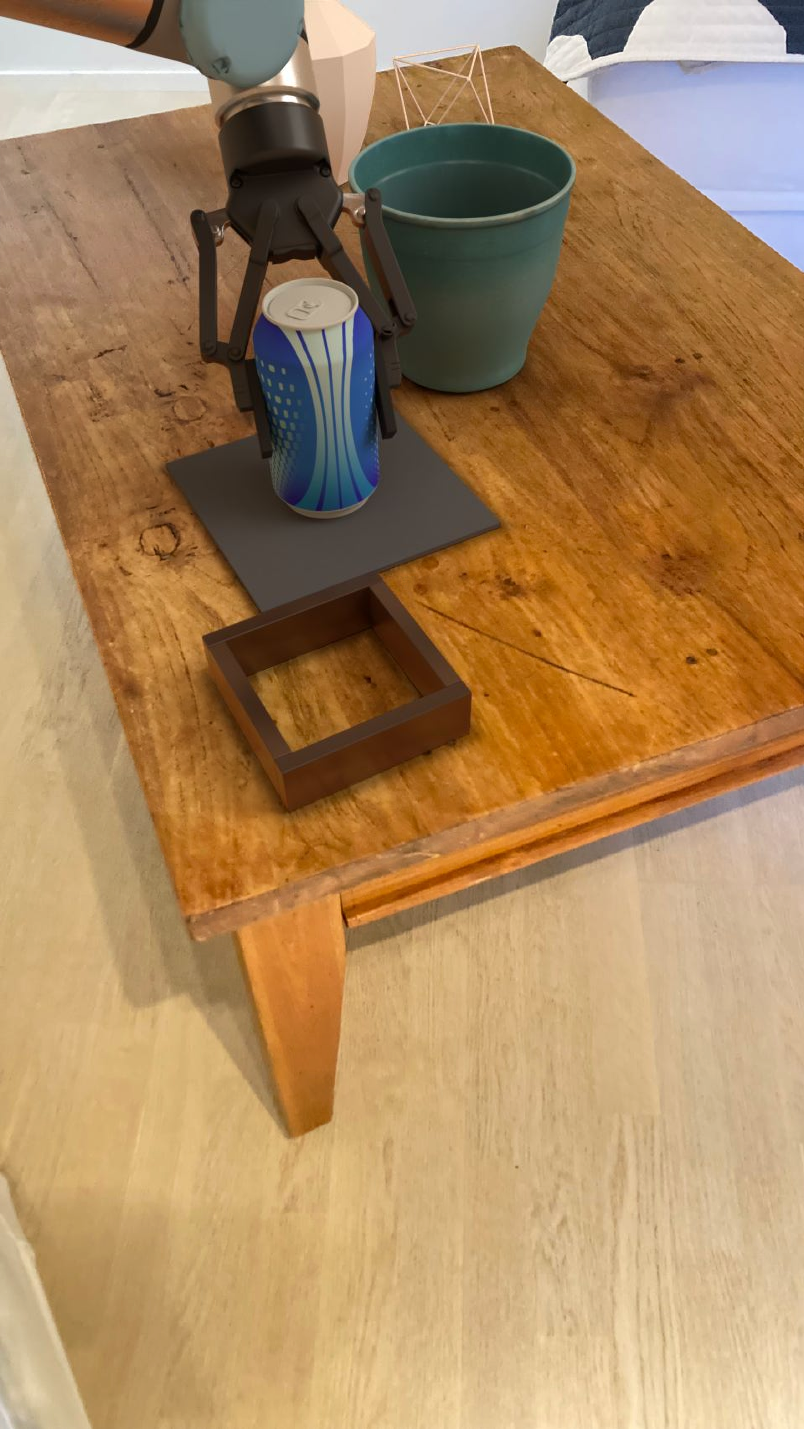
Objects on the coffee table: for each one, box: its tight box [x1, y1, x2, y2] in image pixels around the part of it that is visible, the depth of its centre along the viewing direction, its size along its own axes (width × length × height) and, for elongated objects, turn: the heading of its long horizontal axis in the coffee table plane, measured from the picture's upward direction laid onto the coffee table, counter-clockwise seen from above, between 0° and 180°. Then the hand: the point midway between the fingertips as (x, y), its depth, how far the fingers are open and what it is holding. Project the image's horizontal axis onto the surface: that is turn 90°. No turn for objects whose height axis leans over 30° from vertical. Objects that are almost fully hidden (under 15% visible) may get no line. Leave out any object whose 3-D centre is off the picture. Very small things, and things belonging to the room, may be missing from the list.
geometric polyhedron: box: [392, 43, 495, 130], centre depth 124 cm, size 12×11×9 cm
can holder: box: [201, 571, 473, 813], centre depth 69 cm, size 13×13×4 cm
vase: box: [304, 0, 377, 187], centre depth 113 cm, size 14×14×25 cm
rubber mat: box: [164, 407, 502, 614], centre depth 84 cm, size 20×20×1 cm
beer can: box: [252, 277, 379, 519], centre depth 78 cm, size 8×8×16 cm
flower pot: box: [347, 122, 577, 393], centre depth 90 cm, size 18×18×17 cm
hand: (329, 445), depth 77 cm, fingers closed on beer can, 8 cm apart
